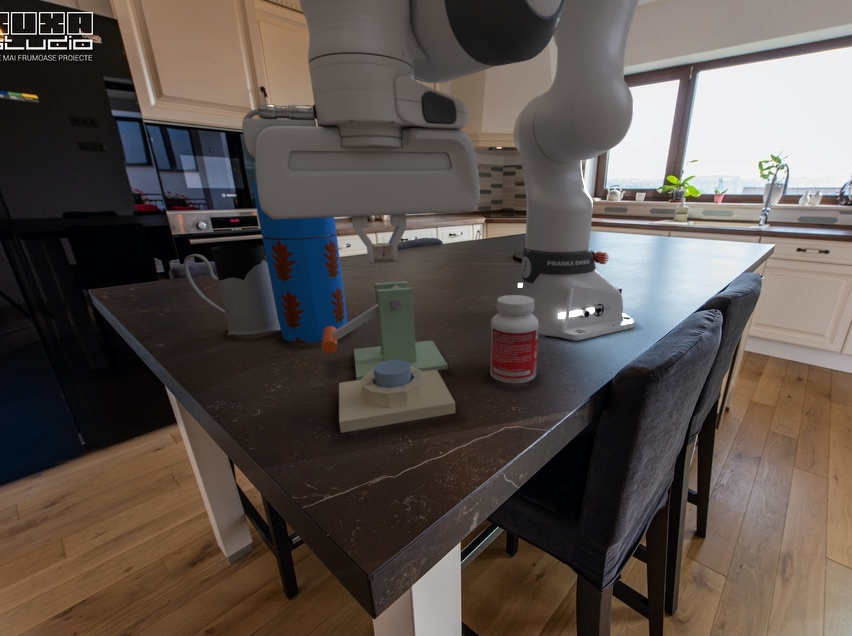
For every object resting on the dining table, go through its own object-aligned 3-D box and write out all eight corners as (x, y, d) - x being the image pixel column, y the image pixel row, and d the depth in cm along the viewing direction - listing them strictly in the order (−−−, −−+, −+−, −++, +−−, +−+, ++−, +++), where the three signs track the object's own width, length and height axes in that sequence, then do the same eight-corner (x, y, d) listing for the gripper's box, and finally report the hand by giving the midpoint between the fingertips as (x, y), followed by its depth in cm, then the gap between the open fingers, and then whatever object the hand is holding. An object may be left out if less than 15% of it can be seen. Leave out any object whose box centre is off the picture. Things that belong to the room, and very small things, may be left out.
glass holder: (267, 340, 67) (248, 250, 61) (184, 340, 67) (158, 250, 62) (291, 324, 75) (276, 243, 70) (217, 323, 75) (197, 243, 70)
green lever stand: (357, 387, 51) (346, 298, 47) (354, 358, 60) (345, 281, 56) (447, 374, 54) (445, 290, 50) (432, 348, 63) (429, 275, 59)
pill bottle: (542, 386, 51) (548, 304, 47) (496, 391, 50) (498, 307, 46) (526, 367, 57) (530, 292, 53) (485, 371, 55) (485, 294, 51)
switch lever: (329, 357, 50) (317, 343, 49) (330, 341, 56) (319, 328, 55) (410, 306, 52) (400, 291, 50) (404, 295, 57) (394, 281, 56)
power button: (408, 371, 47) (407, 357, 46) (413, 386, 43) (413, 371, 43) (373, 376, 46) (372, 362, 45) (376, 391, 42) (375, 376, 42)
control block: (437, 384, 52) (436, 356, 50) (455, 419, 44) (454, 387, 42) (341, 398, 48) (337, 369, 47) (341, 440, 40) (336, 405, 39)
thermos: (326, 350, 63) (301, 180, 54) (267, 345, 65) (233, 180, 56) (359, 328, 73) (342, 182, 64) (307, 324, 75) (284, 182, 66)
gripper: (227, 94, 30) (266, 276, 35) (484, 105, 36) (486, 260, 41) (244, 109, 35) (276, 264, 40) (464, 117, 41) (468, 251, 46)
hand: (383, 262), depth 40 cm, fingers closed
